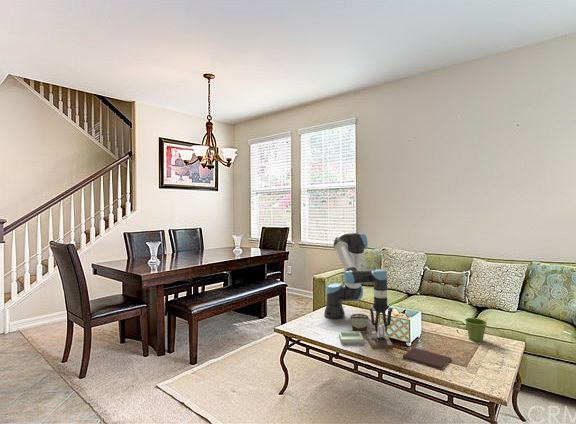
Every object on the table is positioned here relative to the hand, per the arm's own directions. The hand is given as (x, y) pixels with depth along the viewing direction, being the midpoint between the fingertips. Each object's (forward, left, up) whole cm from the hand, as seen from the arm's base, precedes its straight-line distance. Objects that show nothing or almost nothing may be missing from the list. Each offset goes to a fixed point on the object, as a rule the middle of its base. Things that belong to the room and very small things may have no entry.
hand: (381, 336), depth 192 cm
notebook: (+16, +20, -6) cm, 26 cm away
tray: (-9, -16, -6) cm, 19 cm away
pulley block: (-5, 0, -6) cm, 7 cm away
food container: (-26, -8, -6) cm, 28 cm away
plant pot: (-9, +59, -6) cm, 60 cm away
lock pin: (0, 0, -4) cm, 4 cm away
